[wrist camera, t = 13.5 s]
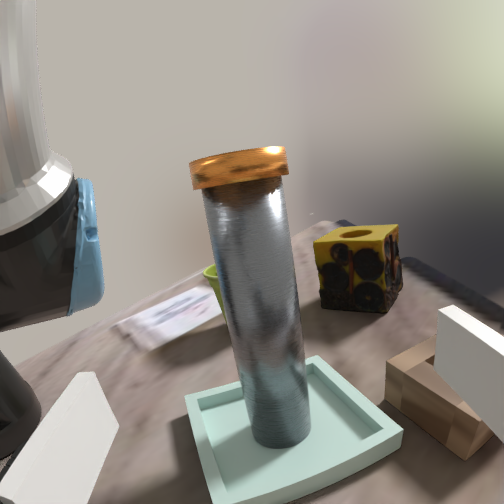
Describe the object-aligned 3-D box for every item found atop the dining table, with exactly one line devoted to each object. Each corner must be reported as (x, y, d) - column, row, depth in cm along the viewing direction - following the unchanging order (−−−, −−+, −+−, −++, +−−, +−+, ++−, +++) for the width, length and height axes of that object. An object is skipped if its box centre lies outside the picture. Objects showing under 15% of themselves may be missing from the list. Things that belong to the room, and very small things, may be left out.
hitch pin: (259, 462, 19) (195, 157, 14) (238, 418, 24) (184, 167, 19) (329, 436, 20) (301, 143, 16) (299, 398, 25) (265, 154, 21)
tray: (222, 522, 14) (214, 508, 14) (190, 412, 27) (184, 395, 26) (400, 447, 18) (403, 429, 17) (318, 371, 30) (317, 354, 30)
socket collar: (465, 461, 14) (479, 421, 13) (384, 398, 24) (386, 360, 23) (533, 391, 17) (545, 352, 16) (458, 353, 26) (462, 318, 25)
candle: (403, 287, 46) (400, 223, 44) (388, 315, 39) (384, 239, 36) (345, 284, 52) (339, 226, 50) (319, 309, 45) (311, 241, 43)
